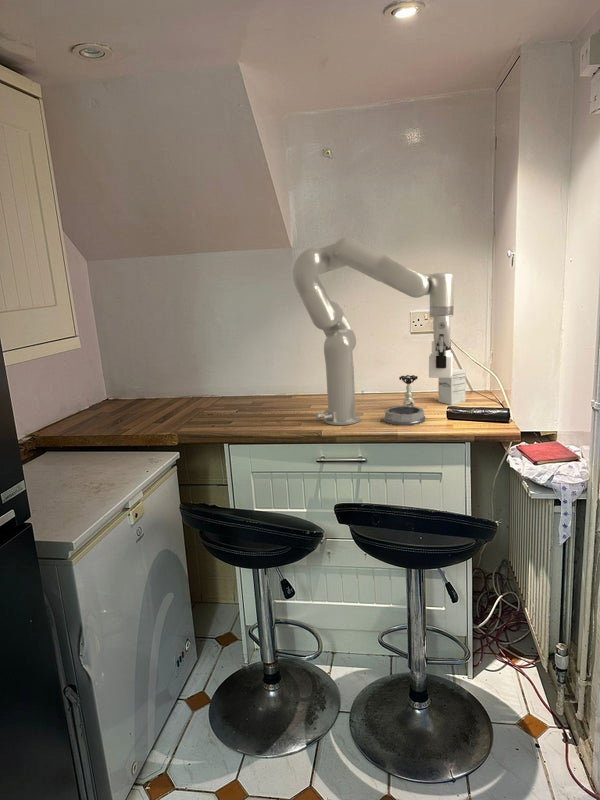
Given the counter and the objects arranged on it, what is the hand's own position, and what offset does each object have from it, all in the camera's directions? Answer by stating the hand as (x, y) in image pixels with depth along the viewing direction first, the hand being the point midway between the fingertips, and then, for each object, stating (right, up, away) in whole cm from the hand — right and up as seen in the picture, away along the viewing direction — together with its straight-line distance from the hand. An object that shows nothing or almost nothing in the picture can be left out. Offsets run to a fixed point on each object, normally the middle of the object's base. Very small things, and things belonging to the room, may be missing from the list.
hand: (440, 365), depth 190 cm
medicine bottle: (0, -4, +1) cm, 4 cm away
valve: (-6, -15, +25) cm, 29 cm away
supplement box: (+12, -12, +30) cm, 34 cm away
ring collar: (-11, -18, +8) cm, 23 cm away
